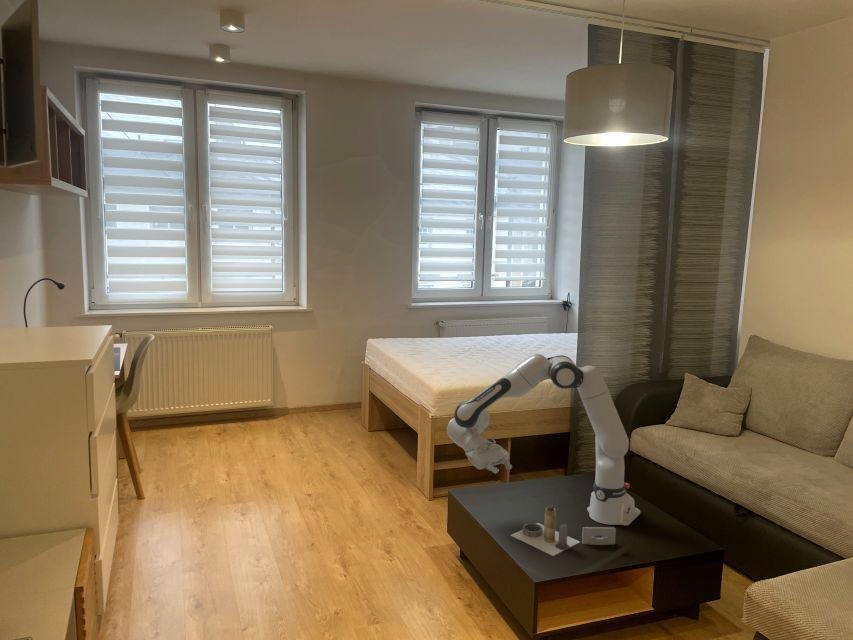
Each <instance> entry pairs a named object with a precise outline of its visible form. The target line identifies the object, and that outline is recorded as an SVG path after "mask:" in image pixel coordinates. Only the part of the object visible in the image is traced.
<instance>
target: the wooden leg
mask: <svg viewBox="0 0 853 640" xmlns="http://www.w3.org/2000/svg"><path fill="white" fill-rule="evenodd" d="M556 518H557V509H556V508H555V507H554V505H547V506H546V507H545V508H544V523H543V524H544V541H545V542H547V543H554V542H555V531H556V524H557V521H556V520H557V519H556Z"/></svg>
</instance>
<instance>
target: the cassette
mask: <svg viewBox="0 0 853 640" xmlns="http://www.w3.org/2000/svg"><path fill="white" fill-rule="evenodd" d="M616 531H617V529H616V527H613V526H612V527H611V526H608V527H607V526H606V527H604V526H602V527H601V526H599V527H596V526H591V527H590V526H583V527H582V532H581V533H582V534H581V545H591V546H592V545H598V546H599V545H600V546H604V545H606V546H609V545H616V535H617V534H616V533H617V532H616Z"/></svg>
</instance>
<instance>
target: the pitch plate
mask: <svg viewBox="0 0 853 640" xmlns="http://www.w3.org/2000/svg"><path fill="white" fill-rule="evenodd" d="M568 527H569V526H568V525H567V524H566V523H560V524H559V525H558V531H557V530H555V542H554V543H547V542H545V541H544V525H543V524H542V523H539V522H536V523H533V522H531V523H530V522H528V523H525V524H522V529H521V530H519V531H516V532H514V533H512V534H510V536H511V537H513V538H514V539H517V540H519V541H522V542H524V543H525V544H528V545H529V546H532V547H533V548H536V549H538V550H540V551H542V552H543V553H546V554H547V555H551V556H552V557H554V556H556V555H558V554H560V553H562V552H564V551H567V550H569V549H570V548H571V547H573V546H575V545H577V544H579V543H581V541H579V539H578V540H577V539H575V538H572V537H571V536H569V535H568Z"/></svg>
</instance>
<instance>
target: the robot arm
mask: <svg viewBox="0 0 853 640" xmlns="http://www.w3.org/2000/svg"><path fill="white" fill-rule="evenodd" d="M575 363H576V362H574V361H573V360H572V358H570V357H569V356H566V355H556V356H550V357H545V355H543V354H541V353H533V354H532V355H530V356H528V357H526V358H525V359H524V360H522V361H521V362H519V364H517V365H516V366H515V367H514V368H512V369H511V370H510V371H508V373H506V374H504V376H502V377H501V378H500V379H498V380H496V381H495V382H493V383H491V384H490V385H489V386H488V387H485V389H484V390H482V391H481V392H480V393H478V394H476V395H475V396H474V397H472V398H470V399H468V400H465V401H463V402H460V403H458V405H457V406H456V408H455V409H454V414H453V415H454V417H453V418H451V419H450V420H449V421H448V424H447V425H446V433H447V436H448V437H449V438H450V439H451V441H453V442H454V443H455V444H456V445H457V446H458V447H460V448H462V449H463V451H464V452H465V456H466V457H467V459H468V461H469V462H470V463H471V464H472V465H473V467H475V468H476V469H477V470H483V469H486V470H488V471H490V472H492V473H494V474H495V475H496V474H498V473H499V471H500V469H499V468H497V467H496V466H497V465H500V464H503V465H504V466H505V469H507V471H508V470H511V469H512V468H513V465H512V464H511V463H510V462H509V458H510V454H509V452H508V451H507V450H506V449H504V447H502V446H501V445H499V444H497V442H496V440H495V439H494V438H488V437H487V438H486V437H484V436H482V434H483V432H484V431H486V430H487V428H488V427H489V425H490V424H491V414H490V413H489V411H488V410H487V409H488V408H490V406H492V405H493V404H494V403H496V402H498V401H499V400H501V399H504V398H520V397H523V396H526V395H527V394H529V393H530V392H531V391H532V390H534V389H535V388H536V387H537V386H538V385H539V384H540V383H542V382H544V381H546V380H551V382H552V383H553V385H554V386H556V387H558V388H559V389H565V390H568V389H577V391H578V394H579V396H580V399H581V402H582V404H583V407H584V410H585V412H586V414H587V417H588V419H589V421H590V424H591V427H592V429H593V432H594V434H595V447H594V448H595V477H594V478H595V480H594V481H593V486H592V487H593V491H592V492H591V494H590V502H589V506H588V507H587V508H586V510H587V512H588V515H589V517H590V519H592V520H593V521H595V522H596V523H600V524H604V525H610V526H611V525H613V526H615V525H618V526H619V525H620V526H629V525H630V524H631V523H632V522H634V521H635V520H636V519H637V517H638V516H640V515H641V510H640V509H639V508H637V507H635V502H636V501H635V499H634V497H632V496H631V495H630V494H628V493H627V491H626V489H627V490H629V489H630V483H627V482H625V455H627V453H628V450H629V446H630V440H629V437H628V435H627V432H626V430H625V427H624V425H623V423H622V420H621V418H620V415H619V413H618V410H617V408H616V406H615V402H614V401H613V398H612V396H611V392H610V391H609V388H608V385H607V383H606V381H605V379H604V377H603V375H602V374H601V372H600V370H599V369H598V368H597V367H595V366H594V365H585V366H582V367H580V366H578V365H577V364H575Z"/></svg>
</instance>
